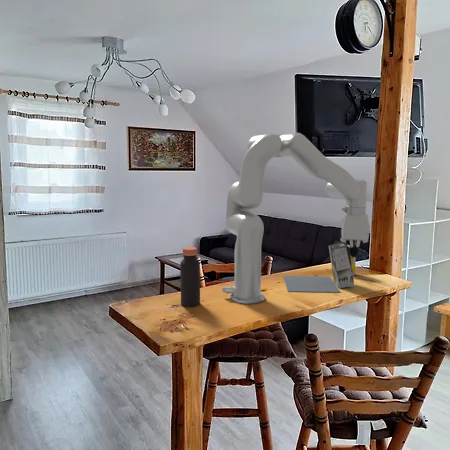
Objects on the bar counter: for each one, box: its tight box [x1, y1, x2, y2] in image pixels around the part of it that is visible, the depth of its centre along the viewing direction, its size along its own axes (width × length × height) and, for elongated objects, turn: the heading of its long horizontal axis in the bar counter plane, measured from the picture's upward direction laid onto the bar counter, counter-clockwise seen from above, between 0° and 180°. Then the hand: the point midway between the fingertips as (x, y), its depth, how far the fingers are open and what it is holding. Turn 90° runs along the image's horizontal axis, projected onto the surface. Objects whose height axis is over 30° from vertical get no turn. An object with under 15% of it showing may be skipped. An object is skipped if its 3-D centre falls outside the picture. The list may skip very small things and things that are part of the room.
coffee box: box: [328, 242, 355, 289], centre depth 170 cm, size 9×6×16 cm
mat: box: [282, 275, 341, 294], centre depth 173 cm, size 20×22×1 cm
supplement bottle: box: [347, 244, 357, 276], centre depth 187 cm, size 7×7×13 cm
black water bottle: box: [179, 246, 201, 308], centre depth 147 cm, size 7×7×20 cm
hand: (353, 256), depth 169 cm, fingers closed
